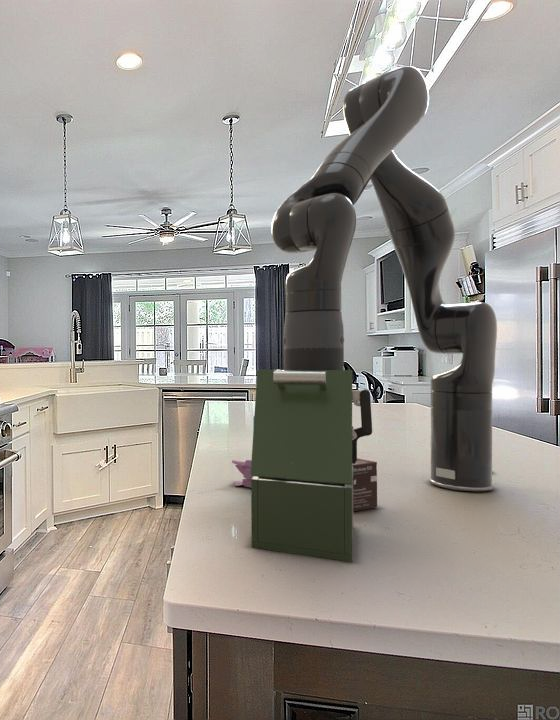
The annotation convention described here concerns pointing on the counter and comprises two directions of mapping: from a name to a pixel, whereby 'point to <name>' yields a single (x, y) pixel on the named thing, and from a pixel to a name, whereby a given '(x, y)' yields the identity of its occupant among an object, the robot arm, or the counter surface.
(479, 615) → the counter surface
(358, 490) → the box
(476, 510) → the counter surface
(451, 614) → the counter surface
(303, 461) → the bin lid
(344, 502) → the bin
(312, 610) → the counter surface
